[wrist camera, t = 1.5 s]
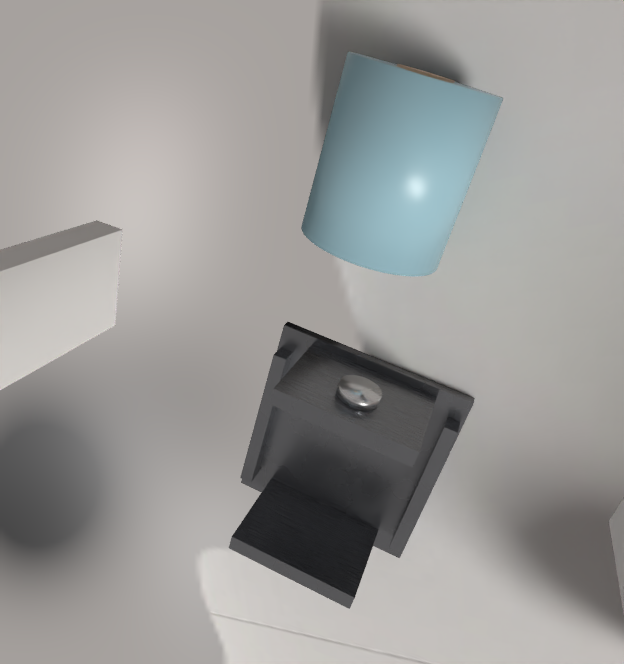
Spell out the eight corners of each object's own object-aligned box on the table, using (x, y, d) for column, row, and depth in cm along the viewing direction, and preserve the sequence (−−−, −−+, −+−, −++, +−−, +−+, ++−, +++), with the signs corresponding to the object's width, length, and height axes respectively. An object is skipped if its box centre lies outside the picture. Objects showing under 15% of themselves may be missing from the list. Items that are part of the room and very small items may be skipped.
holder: (288, 320, 36) (241, 363, 30) (474, 396, 34) (462, 460, 28) (244, 478, 42) (198, 540, 36) (400, 553, 40) (378, 631, 34)
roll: (372, 54, 29) (326, 44, 23) (509, 95, 28) (498, 96, 22) (328, 210, 33) (278, 236, 27) (446, 254, 31) (422, 292, 25)
